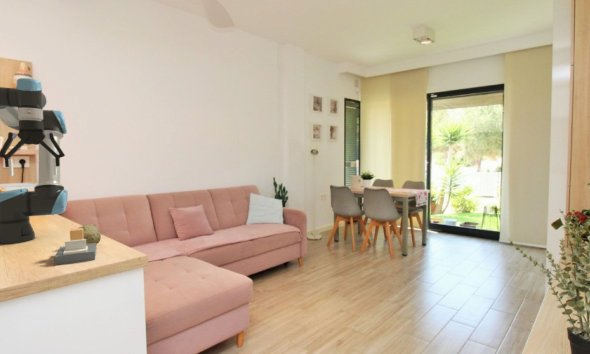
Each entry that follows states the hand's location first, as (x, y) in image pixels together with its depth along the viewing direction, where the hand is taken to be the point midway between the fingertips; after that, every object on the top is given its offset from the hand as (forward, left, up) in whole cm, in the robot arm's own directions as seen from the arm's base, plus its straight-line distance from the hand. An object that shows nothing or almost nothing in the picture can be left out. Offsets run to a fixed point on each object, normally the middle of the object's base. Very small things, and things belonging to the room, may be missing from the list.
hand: (33, 175), depth 130 cm
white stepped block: (+17, +14, -28) cm, 35 cm away
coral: (-4, +16, -31) cm, 35 cm away
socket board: (+14, +14, -31) cm, 36 cm away
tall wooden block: (+11, +14, -31) cm, 35 cm away
